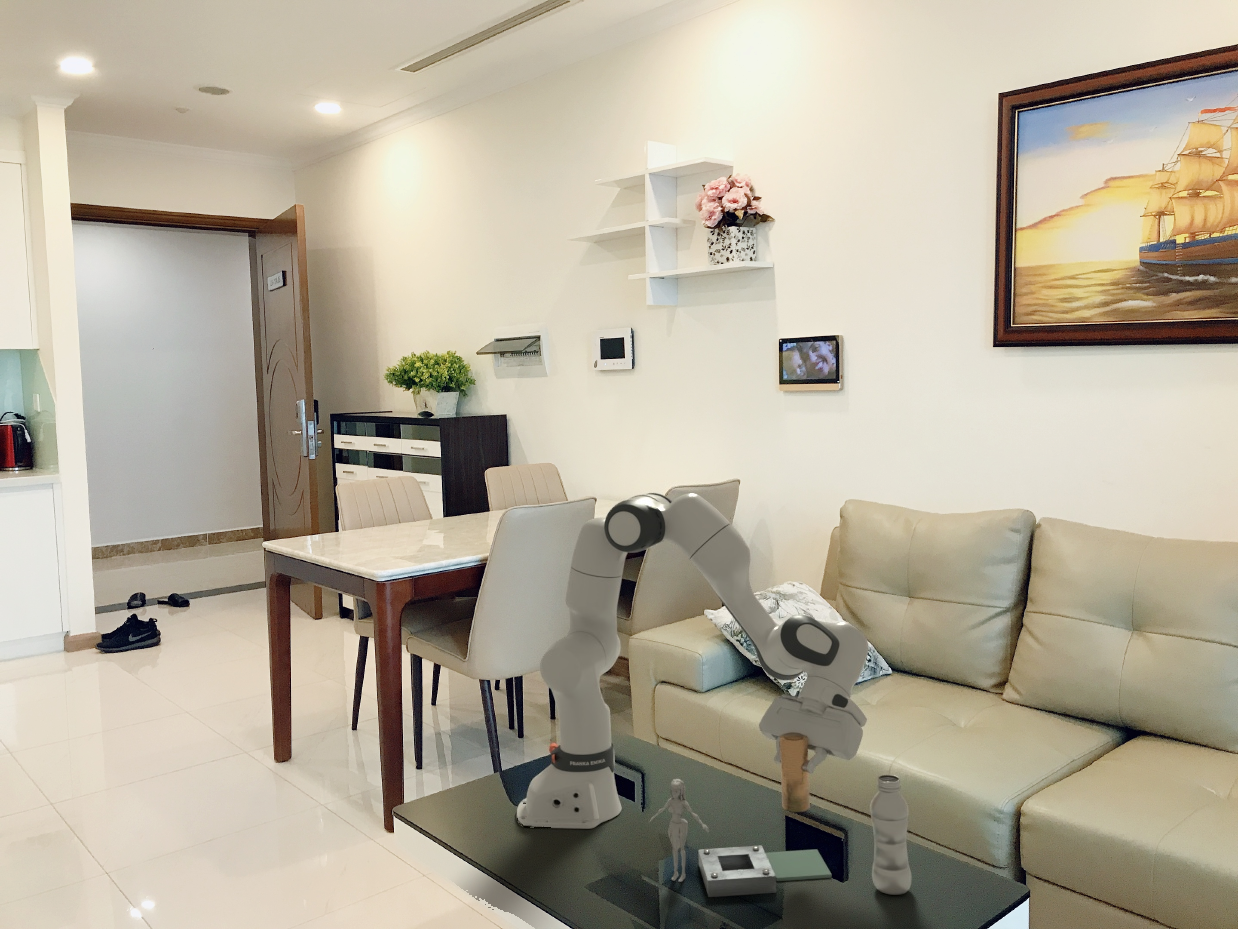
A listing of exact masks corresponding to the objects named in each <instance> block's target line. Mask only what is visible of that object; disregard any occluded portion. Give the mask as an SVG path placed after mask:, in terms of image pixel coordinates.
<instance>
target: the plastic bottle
mask: <svg viewBox="0 0 1238 929" xmlns="http://www.w3.org/2000/svg"><path fill="white" fill-rule="evenodd" d="M876 788H877V790H878V791H877V793H875V795H874V796H873V798H872V799H871V801H870V804H869V813H870V819H871V825H872V829H873V837H874V839H873V841H874V842H873V843H874V850H873V851H874V853H873V863H872V868H871V878H872V882H873V885H874V887H875V888H876V889H877V890H878V891H879V892H881V893H884V894H887V895H893V896H894V895H895V896H896V895H904V894H905V893H907V892H908V891H909V890H910V888H911V885H912V878H913V877H912V871H911V868H910V865H909V855H908V850H907V848H908V847H907V844H908V843H907V836H908V835H907V833H908V822H909V816H910V815H909V812H910V809H909V806H908V803H907V801H906V799H905V798H904V797H903V795H902V794H901V793H900V791H901V790H902V789H901V779H900V777H899V776H897V775H894V774H881V775H879V776H878V777H877V786H876Z"/></svg>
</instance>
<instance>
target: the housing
mask: <svg viewBox="0 0 1238 929" xmlns="http://www.w3.org/2000/svg"><path fill="white" fill-rule="evenodd" d="M697 852H698V866H699V870H700V873H701V877H702V879H703V883H704V887H705V889H706V893H707V897H708V898H714V897H715V898H716V897H717V898H718V897H728V896H729V897H730V896H733V897H734V896H745V895H748V896H749V895H758V894H772V893H773V894H775V893H777V880H776V876H775V873H774V871H773V869H772V867H771V865H770V862H769V860H768V858H767V856H766V854H765V853H766V852H765V850H764V848H763V845H747V846H733V847H720V848H719V847H717V848H702V849H698V851H697Z"/></svg>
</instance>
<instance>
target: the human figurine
mask: <svg viewBox="0 0 1238 929" xmlns="http://www.w3.org/2000/svg"><path fill="white" fill-rule="evenodd" d="M669 792H670V798H668V799H667V801H666V803H665V804H664V806H663V807H662V808H659V809H658V811H657V812H656V814H654V815H653V816H652V817H651V818H650V819H649V821H648V822H647V823H651V822H652V821H653V820H654V819H655V818H656V817H657V816H659V815H660V814H661V813H662V814H663V812H664V811H665V810H666V808H668V812H669V813H670V814H671V816H672V817H671V818H670V820H669V825H668V829H667V833H668V838H669V841H670V843H671V848H672V850H671V853H672V856H673V857H672V858H673V868H674V869H673V871H674V872H673V876H672V877H671V881H674V882H675V881H677V879H678V877H679V872H678V869H679V868H678V864H679V852H680V856H681V869H682V870H681V874H680V877H679V879H678V882H679V883H682V882H683V881H684V880H685V879H686V861H687V860H686V851H685V845H686V842H687V837H688V830H689V824H688V823H689V822H688V820H686V819H685V818H682V813H683V812H685V811H684V810H686V811H688V812H689V813H690V815H692V817H693V818H694V820H696V822H698V823H699V824H700V825H701V827H702V830H703V831H704V830H705V831H706V833H707V834H709V833H710V828H709V827H708V826H707V824H705V823H703V821H702V820H701V819H700V817H699V815H698V814H697V813H694V812H693V809H692V808H691V807H690V804H689V802H688V801H687V798H686V797H687V796H686V785H685V782H684V780H682V779H680V778H674V779H671V782H670V791H669ZM679 849H680V851H679Z"/></svg>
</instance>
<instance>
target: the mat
mask: <svg viewBox="0 0 1238 929" xmlns="http://www.w3.org/2000/svg"><path fill="white" fill-rule="evenodd" d="M765 854H766V856H767V858H768V860H769V862H770V865H771V867H772V869H773V871H774V873H775V876H776V882H783V881H797V880H798V881H799V880H800V881H801V880H813V879H814V880H815V879H817V880H818V879H829V878H830V879H832V873H831V871H830V869H829V868H828V866H827V864H826V862H825V861H824V859H823V857H822V855H821V854H820V852H819V850H818V848H817V849H803V850H802V849H800V850H786V851H785V850H784V851H771V852H765Z"/></svg>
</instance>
